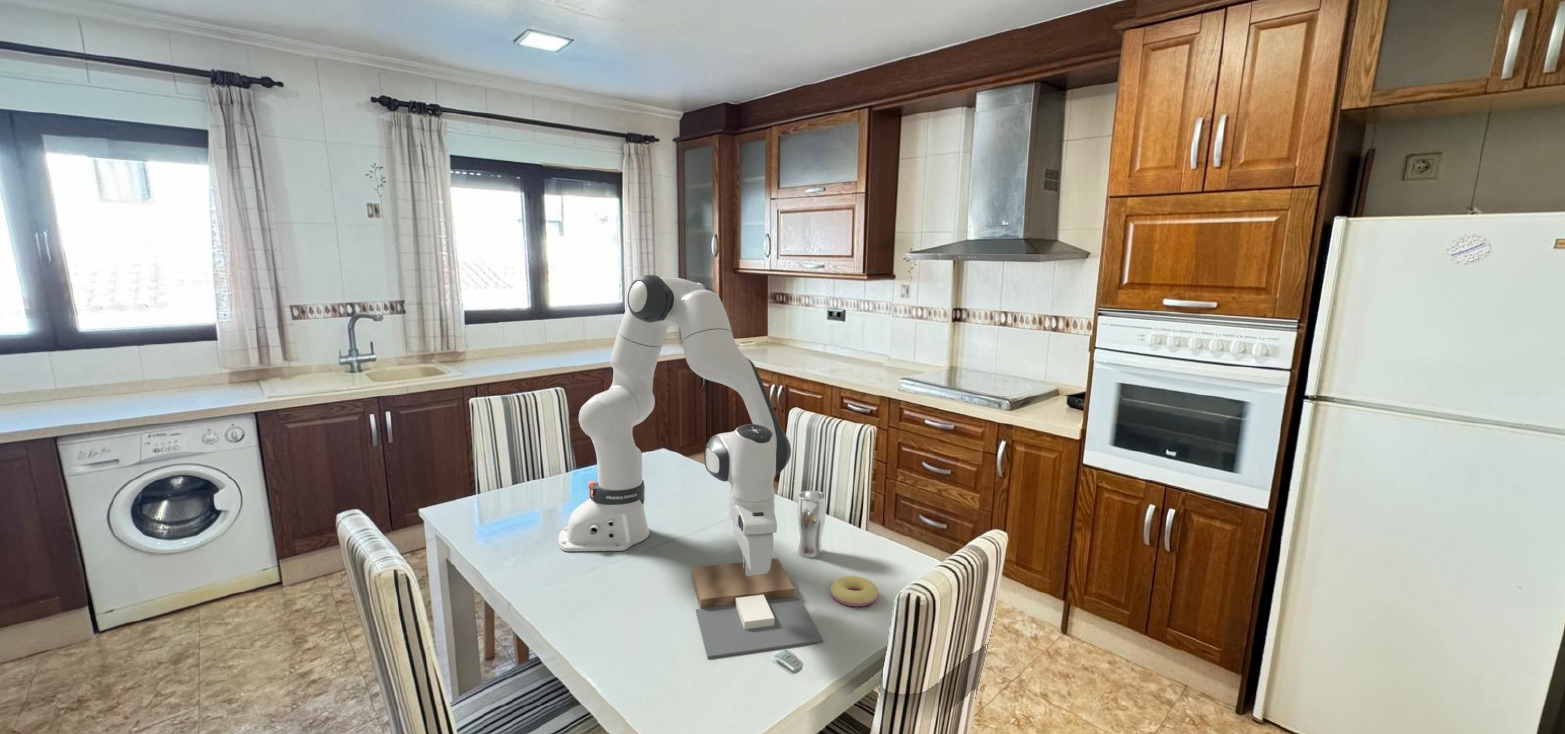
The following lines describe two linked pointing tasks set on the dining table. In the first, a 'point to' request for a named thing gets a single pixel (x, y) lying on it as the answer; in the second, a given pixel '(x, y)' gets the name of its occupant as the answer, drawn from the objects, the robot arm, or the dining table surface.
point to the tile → (754, 611)
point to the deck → (738, 583)
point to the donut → (854, 591)
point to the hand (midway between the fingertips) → (748, 572)
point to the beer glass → (811, 522)
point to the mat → (756, 629)
